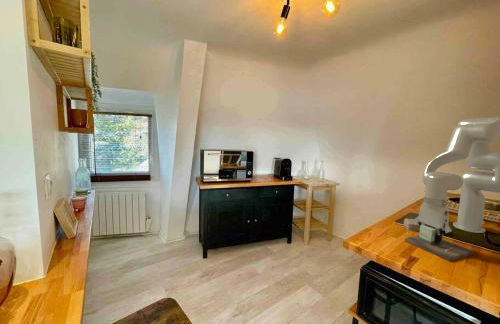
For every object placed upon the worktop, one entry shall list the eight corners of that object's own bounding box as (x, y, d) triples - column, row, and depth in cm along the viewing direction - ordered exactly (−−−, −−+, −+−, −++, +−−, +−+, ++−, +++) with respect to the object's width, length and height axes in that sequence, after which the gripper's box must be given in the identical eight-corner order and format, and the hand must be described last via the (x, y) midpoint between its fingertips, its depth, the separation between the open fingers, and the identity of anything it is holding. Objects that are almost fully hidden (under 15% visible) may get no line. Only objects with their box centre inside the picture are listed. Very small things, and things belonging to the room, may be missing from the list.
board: (427, 236, 112) (427, 233, 111) (473, 254, 95) (473, 251, 95) (404, 241, 106) (405, 238, 106) (449, 261, 89) (449, 257, 89)
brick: (407, 230, 118) (408, 222, 118) (402, 224, 126) (403, 216, 126) (445, 235, 113) (447, 227, 113) (438, 229, 121) (439, 220, 120)
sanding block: (430, 237, 107) (431, 223, 106) (442, 242, 102) (443, 227, 101) (418, 240, 104) (420, 225, 103) (430, 245, 99) (432, 230, 99)
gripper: (463, 206, 94) (457, 247, 96) (420, 196, 110) (417, 231, 112) (451, 208, 92) (446, 250, 94) (409, 197, 107) (406, 233, 110)
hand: (430, 239), depth 103 cm, fingers closed on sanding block, 5 cm apart
